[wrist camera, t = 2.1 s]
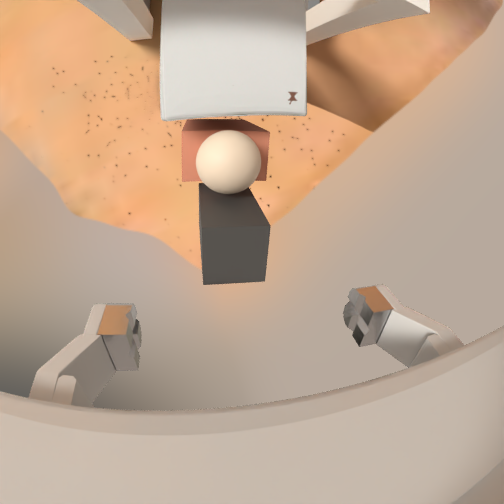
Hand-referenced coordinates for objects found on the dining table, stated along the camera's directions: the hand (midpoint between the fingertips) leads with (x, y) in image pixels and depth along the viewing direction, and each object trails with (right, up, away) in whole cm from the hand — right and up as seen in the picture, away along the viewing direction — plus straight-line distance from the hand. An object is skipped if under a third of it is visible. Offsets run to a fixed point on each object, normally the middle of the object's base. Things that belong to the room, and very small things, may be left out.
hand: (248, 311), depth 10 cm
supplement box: (-3, +18, +11) cm, 22 cm away
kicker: (-3, +11, +14) cm, 18 cm away
